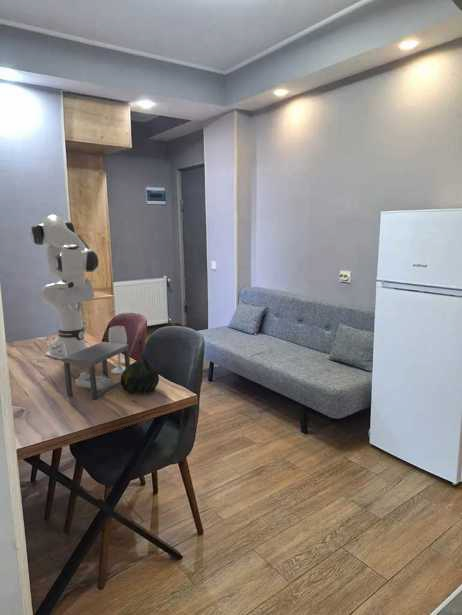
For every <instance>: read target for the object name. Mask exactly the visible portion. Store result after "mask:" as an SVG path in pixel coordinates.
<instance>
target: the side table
mask: <svg viewBox="0 0 462 615" xmlns="http://www.w3.org/2000/svg"><path fill="white" fill-rule="evenodd" d="M119 353H120V354H122V353H124V354H123V355H124V356H123V357H124V367H125V369H126V368H127V367H128V366H129V365H130V364H131V360H130V359H131V358H130V345H129V344H128V343H127V344H119V343H110V342H109V341H101V342H99V343H95V344H93V345H91V346H89V347H88V346H87V348H86V349H84V350H81V351H79V352H76V353H74V354H72V355H69V356H67V357H64V358H63V359H62V360H63V370H64V379H65V387H66V396H68V397H71V396H73V385H72V376H71V366H70V364H71V365H78V366H83V367H84V366H85V367H88V371H89V373H88V374H89V376H90V384H91V389H90V394H91V395H90V396H91V400H92V401H97V400H98V399H100V398H101V397H103V396H105V395H106V394H108V393H109V392H111V391H113V390H115V389H116V388H118V387H119V386H121V379H120V380H119V381H117V382H115V383H112V385H111V386H110V387H108V388H106V389H104V390H103V391H99V392H98V390H97V387H96V377H97V376H96V367H95V366H97V365H98V364H101V367H102V376H106V378H107V377H108V376H109V371H108V360H109V359H111V358H113V357H115V356H118V354H119Z"/></svg>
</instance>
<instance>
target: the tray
mask: <svg viewBox="0 0 462 615" xmlns="http://www.w3.org/2000/svg"><path fill="white" fill-rule="evenodd" d="M111 385H113V383H112V378H107V377H106V376H103V375H100V376H96V387H97V391H99V392H101V391H103V390H104V389H106V388H108V387H110V386H111ZM75 387H78V388H84V389H90V390H91V384H90V374H89V373H87V372H82V373H80V377H78V378H76V379H75Z"/></svg>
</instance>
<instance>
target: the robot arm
mask: <svg viewBox="0 0 462 615" xmlns="http://www.w3.org/2000/svg"><path fill="white" fill-rule="evenodd" d="M76 232H77V231H76V227H75V226H74V224H73V222H71V221H69V220H63V219H62V218H61V216H58V215H56V214H51V215H47V216H46V217H45V218H44V219H43V223H37V224H34V225H32V226H31V227H30V234H29V236H30V238H31V239H32V241H33V243H34V244H35V245H37V246H38V245H39V246H43V245H47V247H46V258H47V259H46V260H47V263H48V266H49V269H50V273H51V276H53V278H54V279H56V280H58V281H57V282H53V283H48V284H46V285H44V286H42V288H41V291H40V292H41V293H40V296H41V299H42V301H43V302H44V303H45V304H47V305H49V306H50V307H51V308H53V310H55V312H56V313H57V316H58V319H59V326H60V329H58V330H57V331H56V334H57V335H58V336H57V337H56V338H54V340H52V341H51V342H50V344H49V350H48V351H46V352H45V356H47V357H51V358H54V359H55V358H56V359H58V360H63V358H64V357H67V356H69V355H72V354H74V353H76V352H79V351H81V350H84V349H86V348H88V346H87V342H86V338H85V328H84V322H83V315H82V309H81V308H82V307H83V302H86V301H89V300H94V297H95V294H94V292H95V288H94V285H93V284H92V282H91V280H89V279H87V278H86V279H85V272H88V273H89V272H90V273H91V272H92V273H93V272H94V271H95V270H97V268H98V267H99V258H98V255H97V253H96V252H95V251H94V250H93V249H91V248H90V247H89V245H88V244H87V243H86V242H85V241H84V239H83V238H82V237H81V235H79V234H77V233H76Z"/></svg>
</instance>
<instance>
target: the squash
mask: <svg viewBox="0 0 462 615" xmlns="http://www.w3.org/2000/svg"><path fill="white" fill-rule="evenodd" d="M157 370H158V369H157V368H156V366H154V364H153V363H152V362H150V361H149V360H148V359H147V358H141V359H138V360H136V361H134V362H132V363H130V365H129V366H128V367H127V368H126V369H125V370H124V371H123V373H122V374H121V377H120V380H121V385H120V386H121V388H122V390H123V391H124V392H127V393H128V394H129V395H135V394H137V395H139V394H150V393H153V392H154V390H156V388H157V386H158V384H159V383H160V382H159V381H160V376H159V372H158V371H157Z"/></svg>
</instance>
